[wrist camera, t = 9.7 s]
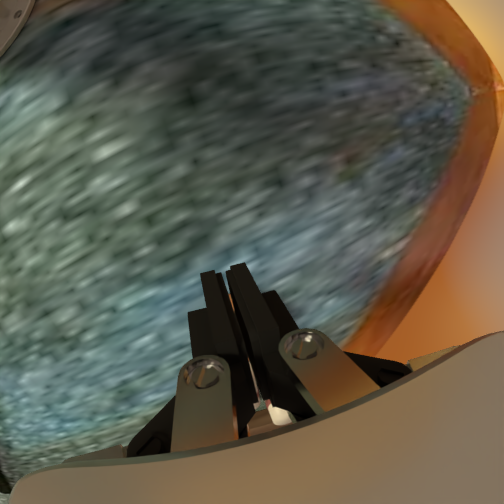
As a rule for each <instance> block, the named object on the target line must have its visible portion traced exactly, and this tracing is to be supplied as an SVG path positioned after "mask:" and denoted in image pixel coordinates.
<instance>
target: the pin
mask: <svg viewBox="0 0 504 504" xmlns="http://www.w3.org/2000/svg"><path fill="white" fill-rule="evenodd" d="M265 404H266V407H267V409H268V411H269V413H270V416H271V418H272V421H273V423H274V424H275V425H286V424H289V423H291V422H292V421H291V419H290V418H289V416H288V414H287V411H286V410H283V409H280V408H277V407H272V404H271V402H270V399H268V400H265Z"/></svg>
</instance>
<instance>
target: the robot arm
mask: <svg viewBox="0 0 504 504" xmlns="http://www.w3.org/2000/svg"><path fill="white" fill-rule="evenodd" d="M34 3H35V0H0V57H1V56H2V55H3V54H4V53H5V51H6V50H7V49H8V48H9V47H10V45H11V44H12V43H13V41H14V40H15V38H16V37H17V36H18V34H19V33H20V31H21V29H22V28H23V26H24V24H25V23H26V21H27V19H28V17H29V15H30V13H31V11H32V9H33V6H34ZM230 269H231V270H228V271H226V276H227V281H228V285H229V290H230V294H231V299H232V303H233V307H234V309H233V307H232V304H231V301H230V298H229V295H228V292H227V289H226V286H225V283H224V280H223V277H222V274H221V272H220V273H216V274H215V270H212V271H208V272H204V273H200V276H201V281H202V287H203V292H204V297H205V302H206V307H207V308H203V309H199V310H195V311H191V312H188V322H189V331H190V340H191V348H192V356H193V359H191V360H189V361H188V362H187V363H186V364H184V365H183V367H182V368H181V369H180V372H179V375H178V381H177V390H176V395H175V396H174V397H173V398H172V399H171V400H170V401H169V402H168V403H167V404H166V405H165V407H164V408H163V409H162V410H161V411H160V412H159V413H158V414H157V415H156V416H155V417H154V418H153V419H152V420H151V421H150V422H149V423H148V424H147V425H146V426H145V427H144V428H143V429H142V430H141V431H140V432H139V433H138V434H137V435H136V436H135V437H134V438H133V439H132V440H131V442H130V443H129V445H128V446H125V447H123V446H122V445H121V444H120V445H116V446H113V447H109V448H106V449H102V450H99V451H95V452H91V453H87V454H83V455H79V456H75V457H71V458H68V459H66V460H64V461H63V462H62V463H61V464H56V465H52V466H47V467H44V468H41V469H38V470H36V471H33V472H31V473H29V474H27V475H25V476H24V477H22V478H20V480H19V481H18V482H17V483H16V484H15V486H14V488H13V490H12V492H11V495H10V498H9V502H8V504H504V331H500V332H495V333H491V334H487V335H484V336H482V337H479V338H476V339H474V340H472V341H470V342H467V343H465V344H463V345H461V346H460V345H459V346H453V347H450V348H447V349H444V350H441V351H438V352H435V353H432V354H428V355H425V356H422V357H418V358H414V359H411V360H408V362H407V364H405V365H404V364H402V363H399V362H396V361H391V360H386V359H380V358H375V357H369V356H364V355H359V354H354V353H349V352H344V351H342V350H341V349H340V348H339V347H338V346H337V345H336V344H335V343H334V342H333V341H332V340H331V339H330V338H329V337H328V336H327V335H325V334H324V333H322V332H321V331H318V330H316V329H309V328H304V329H299V328H298V326H297V325H296V323H295V321H294V320H293V318H292V316H291V315H290V313H289V312H288V310H287V308H286V307H285V305H284V303H283V302H282V300H281V299H280V297H279V295H278V294H277V292H276V291H275V290H273V291H269V292H265V293H262V294H261V292H260V290H259V289H258V287H257V285H256V283H255V281H254V279H253V277H252V275H251V273H250V271H249V269H248V268H247V266H246V264H245V262H244V263H240V264H236V265H232V266H230ZM248 359H249V360H248ZM249 362H250V364H251V367H252V370H253V373H254V376H255V378H256V381H257V384H258V387H259V389H260V392H261V395H262V398H263V400H264V401H265V400H268V399H270V402H271V404H272V407H277V408H280V409H283V410H286V411H287V414H288V416H289V418H290V419H291V421H292V422H293V424H290V425H287V426H284V427H281V428H278V429H274V430H271V431H268V432H264V433H261V434H257V435H253V436H250V430H249V426H248V423H249V421H250V420H251V419H252V417H253V416H254V414H255V413H256V412H255V408H254V403H258V402H259V401H258V397H257V393H256V389H255V385H254V380H253V376H252V372H251V368H250V364H249Z"/></svg>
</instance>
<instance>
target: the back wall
mask: <svg viewBox="0 0 504 504" xmlns="http://www.w3.org/2000/svg"><path fill="white" fill-rule="evenodd" d="M290 424H293V422H291V423H289V424H286V425H275V424H274V423H273V421H272V418H271V416H270V413H269V411H268V409H264V410H260V411H257V412H256V413H255V414H254V416H253V417H252V419H251V420H250V421H249V423H248V426H249V430H250V436H253V435H257V434H261V433H264V432H268V431H271V430H274V429H278V428H281V427H284V426H287V425H290Z"/></svg>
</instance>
